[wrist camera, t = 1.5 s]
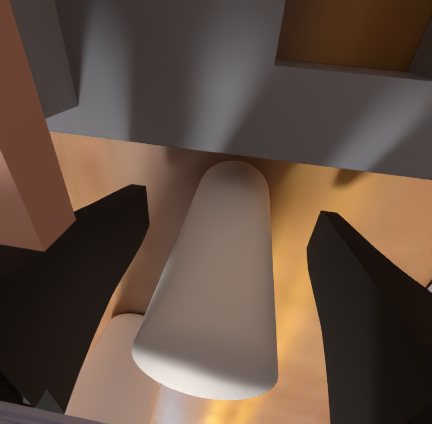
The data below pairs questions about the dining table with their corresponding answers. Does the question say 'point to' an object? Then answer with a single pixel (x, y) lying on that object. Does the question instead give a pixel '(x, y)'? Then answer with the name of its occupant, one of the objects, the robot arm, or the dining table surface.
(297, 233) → the dining table surface
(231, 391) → the peg
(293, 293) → the dining table surface
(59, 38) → the socket station
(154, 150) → the dining table surface
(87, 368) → the cream rounded cylinder
